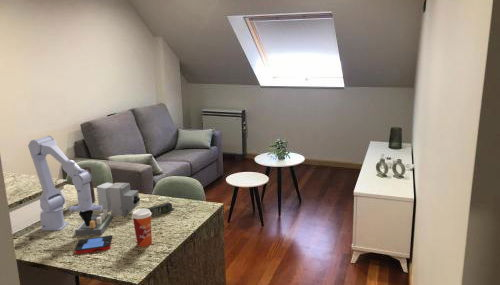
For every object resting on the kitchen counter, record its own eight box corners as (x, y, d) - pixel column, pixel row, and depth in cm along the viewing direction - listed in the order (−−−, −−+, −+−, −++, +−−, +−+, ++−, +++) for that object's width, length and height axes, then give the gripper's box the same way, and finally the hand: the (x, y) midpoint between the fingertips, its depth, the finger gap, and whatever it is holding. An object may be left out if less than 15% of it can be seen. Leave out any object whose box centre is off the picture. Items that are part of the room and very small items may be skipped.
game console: (113, 237, 184) (112, 232, 183) (110, 251, 172) (109, 246, 171) (79, 241, 181) (78, 236, 180) (74, 255, 169) (73, 250, 168)
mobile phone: (147, 210, 200) (174, 201, 208) (144, 208, 202) (172, 199, 211) (148, 219, 201) (175, 210, 210) (146, 217, 204) (173, 208, 212)
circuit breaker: (136, 217, 203) (133, 189, 200) (110, 215, 206) (107, 187, 203) (143, 210, 211) (140, 183, 207) (118, 209, 213) (115, 182, 210)
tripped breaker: (90, 228, 186) (89, 222, 185) (92, 226, 188) (91, 220, 187) (93, 228, 186) (93, 222, 185) (95, 226, 188) (94, 220, 187)
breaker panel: (75, 235, 186) (73, 224, 184) (89, 219, 202) (88, 209, 201) (101, 234, 186) (100, 223, 184) (113, 218, 202) (112, 208, 201)
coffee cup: (144, 250, 171) (141, 217, 167) (130, 245, 175) (127, 213, 171) (158, 241, 178) (155, 210, 174) (145, 237, 182) (142, 206, 178)
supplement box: (119, 206, 217) (116, 184, 214) (107, 211, 211) (105, 188, 208) (110, 203, 221) (107, 181, 218) (98, 208, 215) (95, 186, 212)
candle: (92, 204, 220) (87, 169, 215) (78, 205, 220) (74, 170, 215) (97, 199, 227) (93, 165, 222) (84, 199, 228) (80, 165, 223)
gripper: (64, 201, 179) (68, 229, 183) (97, 200, 179) (101, 228, 183) (71, 195, 186) (75, 222, 189) (102, 194, 186) (106, 221, 189)
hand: (88, 225), depth 186 cm, fingers closed
